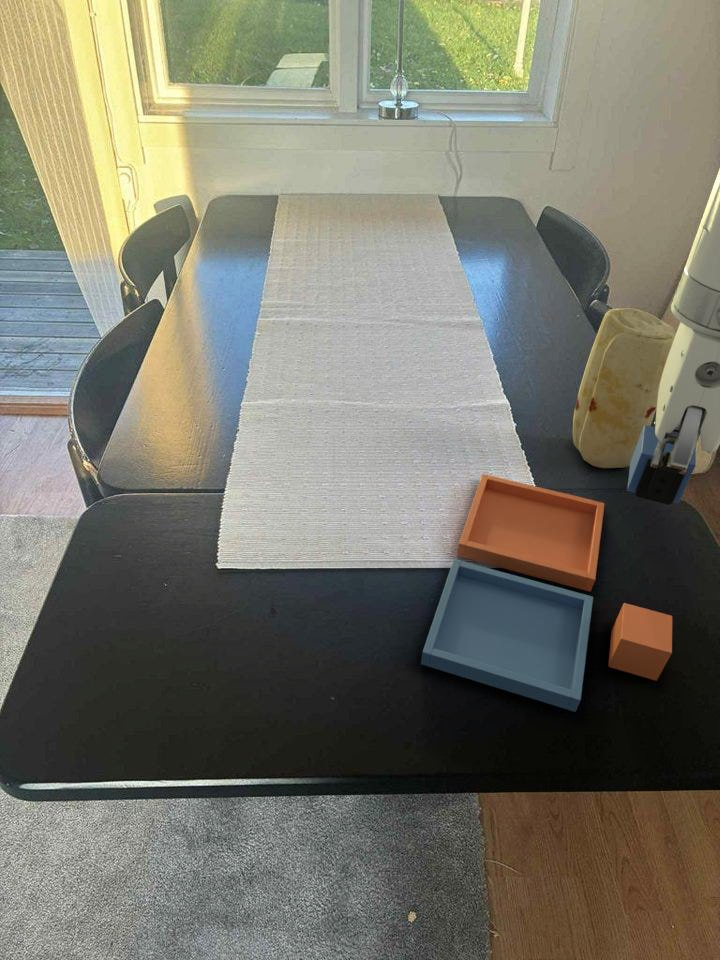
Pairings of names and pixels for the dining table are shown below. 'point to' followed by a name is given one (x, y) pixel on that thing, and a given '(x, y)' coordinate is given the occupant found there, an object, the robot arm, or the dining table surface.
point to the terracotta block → (641, 641)
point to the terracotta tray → (534, 532)
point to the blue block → (646, 452)
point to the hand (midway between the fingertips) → (654, 479)
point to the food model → (620, 386)
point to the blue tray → (511, 634)
